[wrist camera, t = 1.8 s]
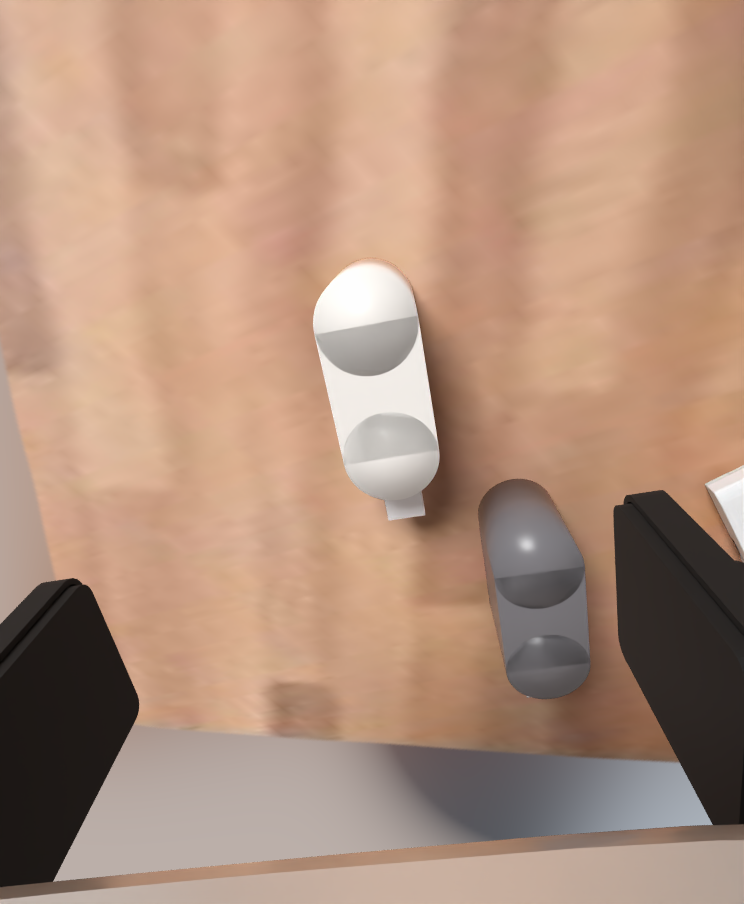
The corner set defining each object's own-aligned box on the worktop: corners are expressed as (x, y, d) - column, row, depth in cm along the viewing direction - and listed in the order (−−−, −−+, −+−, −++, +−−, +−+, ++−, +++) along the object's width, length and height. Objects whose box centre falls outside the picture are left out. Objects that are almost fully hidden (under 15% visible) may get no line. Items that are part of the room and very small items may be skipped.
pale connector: (320, 267, 24) (302, 281, 19) (406, 250, 24) (409, 260, 19) (368, 493, 28) (363, 550, 23) (443, 482, 27) (452, 537, 23)
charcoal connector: (473, 485, 27) (489, 541, 23) (550, 473, 27) (582, 527, 22) (497, 658, 31) (514, 735, 27) (564, 650, 31) (593, 726, 26)
